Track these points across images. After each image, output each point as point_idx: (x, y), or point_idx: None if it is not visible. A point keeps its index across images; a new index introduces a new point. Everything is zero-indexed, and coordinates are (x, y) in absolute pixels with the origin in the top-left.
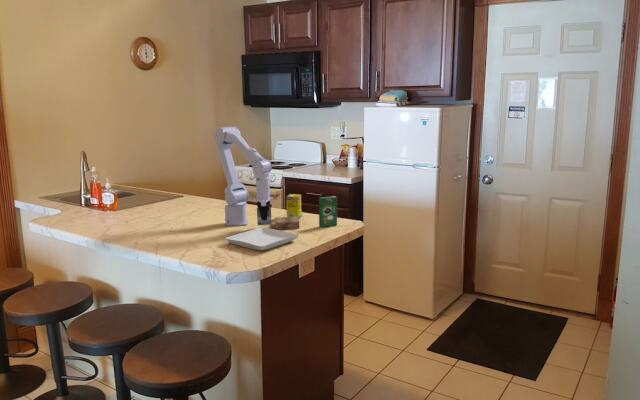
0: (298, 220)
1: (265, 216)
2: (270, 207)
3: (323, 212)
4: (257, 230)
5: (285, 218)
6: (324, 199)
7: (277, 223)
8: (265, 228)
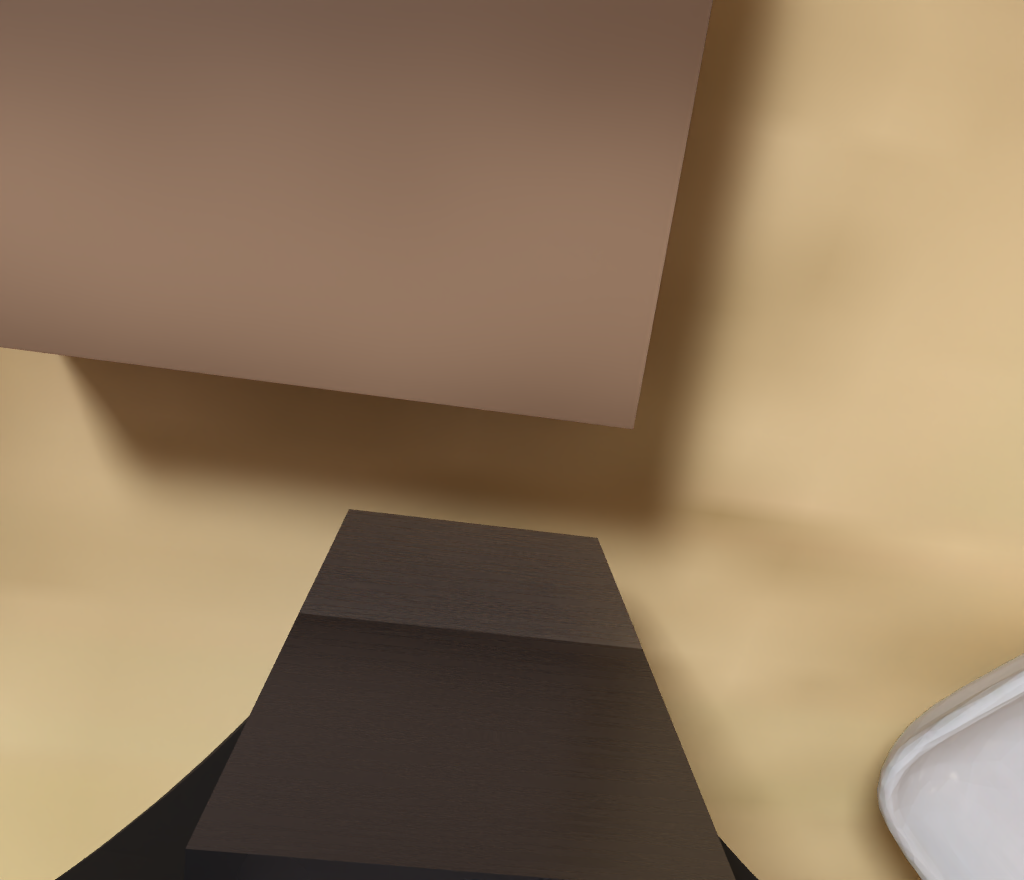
0: None
1: None
2: (348, 878)
3: None
4: (961, 872)
5: (133, 23)
6: None
7: (633, 385)
8: (965, 727)
